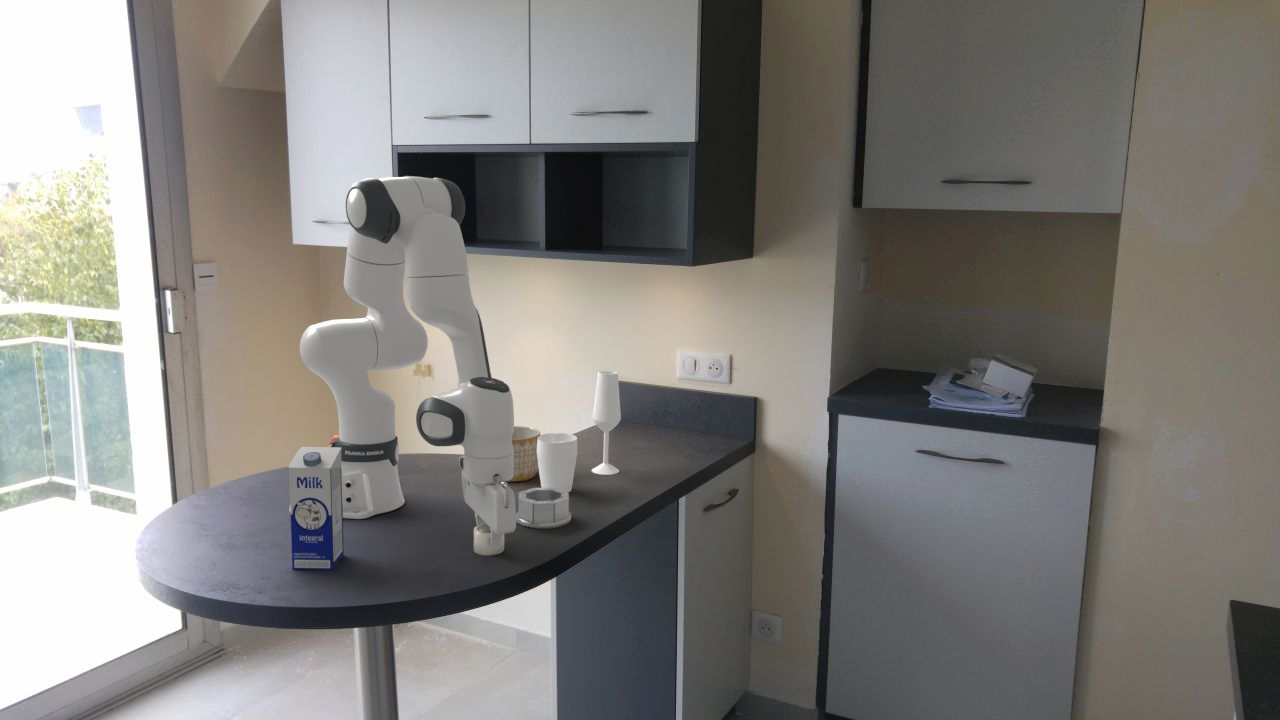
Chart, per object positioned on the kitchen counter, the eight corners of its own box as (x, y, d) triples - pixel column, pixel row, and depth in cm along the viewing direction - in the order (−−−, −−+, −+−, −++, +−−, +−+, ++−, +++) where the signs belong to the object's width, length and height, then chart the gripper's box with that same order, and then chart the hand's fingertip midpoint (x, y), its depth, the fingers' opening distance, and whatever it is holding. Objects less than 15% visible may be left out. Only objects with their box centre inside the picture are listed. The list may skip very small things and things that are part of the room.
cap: (472, 555, 162) (472, 533, 162) (474, 544, 168) (474, 523, 167) (503, 555, 163) (504, 533, 162) (504, 543, 168) (504, 522, 168)
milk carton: (344, 555, 161) (342, 446, 157) (333, 570, 154) (330, 456, 151) (304, 554, 160) (300, 445, 157) (291, 569, 154) (287, 455, 151)
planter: (531, 486, 204) (531, 441, 202) (477, 481, 206) (477, 437, 204) (545, 470, 216) (546, 427, 214) (495, 466, 218) (495, 424, 216)
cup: (570, 498, 196) (571, 444, 194) (530, 494, 198) (531, 441, 196) (581, 486, 205) (582, 434, 203) (543, 482, 206) (543, 431, 205)
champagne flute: (609, 476, 213) (611, 376, 209) (585, 471, 216) (588, 372, 212) (624, 469, 218) (627, 372, 214) (601, 465, 222) (603, 368, 218)
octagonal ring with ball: (514, 529, 176) (514, 504, 175) (516, 510, 187) (516, 487, 186) (572, 528, 177) (572, 504, 177) (570, 509, 188) (570, 486, 188)
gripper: (525, 481, 155) (524, 558, 158) (488, 452, 173) (488, 521, 175) (490, 486, 152) (489, 563, 155) (456, 455, 170) (456, 525, 173)
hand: (488, 541), depth 165 cm, fingers closed on cap, 5 cm apart
